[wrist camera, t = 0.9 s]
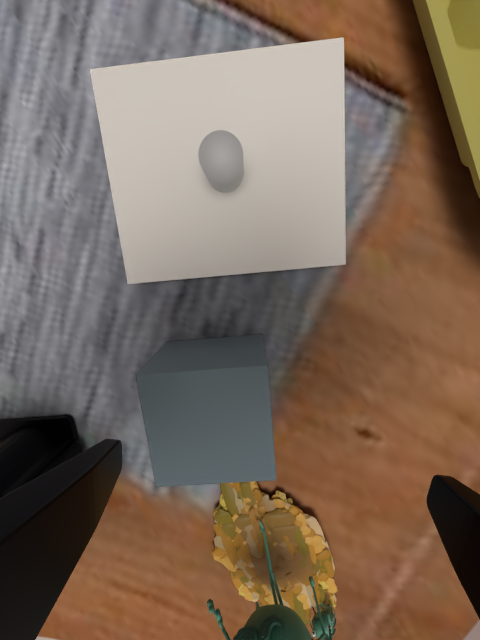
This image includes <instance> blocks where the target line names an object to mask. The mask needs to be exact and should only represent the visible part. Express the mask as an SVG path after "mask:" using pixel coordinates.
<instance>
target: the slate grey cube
mask: <svg viewBox="0 0 480 640" xmlns="http://www.w3.org/2000/svg"><path fill="white" fill-rule="evenodd" d="M136 380H137V386H138V391H139V397H140V402H141V408H142V413H143V419H144V424H145V430H146V435H147V441H148V446H149V452H150V457H151V462H152V468H153V473H154V479H155V484H156V487H164V486H182V485H200V484H217V483H235V482H253V481H271V480H276V467H275V454H274V440H273V426H272V412H271V398H270V385H269V371H268V362H267V357H266V351H265V346H264V341H263V335H262V334H256V335H244V336H231V337H219V338H206V339H193V340H181V341H168V342H166V343H165V344H164V345H163V346H162V347H161V349H160V350H159V351H158V352H157V353H156V354H155V355H154V356H153V357H152V358H151V359H150V360H149V361H148V362H147V363H146V365H145V366H144V367H143V368H142V369H141V370H140V371H139V372H138V373H137V374H136Z"/></svg>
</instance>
